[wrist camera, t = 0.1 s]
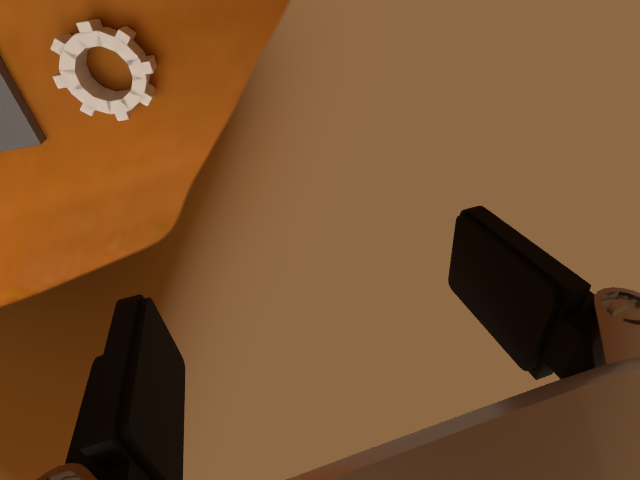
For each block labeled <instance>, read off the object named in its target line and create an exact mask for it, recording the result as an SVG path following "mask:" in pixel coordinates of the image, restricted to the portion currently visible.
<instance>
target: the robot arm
mask: <svg viewBox="0 0 640 480" xmlns="http://www.w3.org/2000/svg"><path fill="white" fill-rule="evenodd" d="M448 281H449V285H450V288H451V289H452V291H453V292H454V293H455V294H456V295H457V296H458V297H459V299H460V300H461V301H462V302H463V303H464V304H465V305H466V307H467V308H468V309H469V310H470V311H471V312H472V313H473V315H474V316H475V317H476V318H477V319H478V320H479V321H480V322H481V324H482V325H483V326H484V327H485V328H486V329H487V330H488V332H489V333H490V334H491V335H492V336H493V337H494V338H495V340H496V341H497V342H498V343H499V344H500V345H501V346H502V348H503V349H504V350H505V351H506V352H507V353H508V354H509V356H510V357H511V358H512V359H513V360H514V361H515V362H516V364H517V365H518V366H519V367H520V368H521V369H523V370H525V371H529V373H530V374H531V375H532V376H533V377H534V378H535V379H536V380H537V379H540V378H543V377H546V376H548V375H551V374H552V373H553V372H554V373H555V374H556V375H557V376H558V377H559V378H560V380H558V381H555V382H552V383H549V384H546V385H544V386H541V387H538V388H535V389H533V390H530V391H527V392H524V393H522V394H519V395H516V396H513V397H510V398H508V399H505V400H502V401H499V402H497V403H494V404H491V405H488V406H485V407H483V408H480V409H477V410H474V411H472V412H469V413H466V414H463V415H461V416H458V417H455V418H452V419H450V420H447V421H444V422H441V423H439V424H436V425H433V426H431V427H428V428H425V429H422V430H420V431H417V432H414V433H411V434H409V435H406V436H403V437H400V438H398V439H395V440H392V441H389V442H387V443H384V444H381V445H379V446H376V447H373V448H370V449H368V450H365V451H362V452H359V453H357V454H354V455H351V456H349V457H346V458H343V459H341V460H338V461H335V462H333V463H330V464H327V465H325V466H322V467H319V468H317V469H314V470H311V471H309V472H306V473H303V474H300V475H298V476H295V477H292V478H290V479H287V480H640V293H638V292H635V291H632V290H628V289H624V288H614V287H613V288H605V289H602V290H600V291H598V292H597V293H596V294H595V295H594V294H593V293H592V292H590V291H589V290H590V287H591V285H590V284H589V283H588V282H586V281H585V280H583V279H582V278H581V277H579V276H578V275H577V274H575V273H574V272H572V271H571V270H570V269H568V268H567V267H566V266H564V265H563V264H561V263H560V262H559V261H557V260H556V259H554V258H553V257H552V256H550V255H549V254H548V253H546V252H545V251H544V250H542V249H541V248H539V247H538V246H537V245H535V244H534V243H533V242H531V241H530V240H528V239H527V238H526V237H524V236H523V235H521V234H520V233H519V232H517V231H516V230H515V229H513V228H512V227H511V226H509V225H508V224H506V223H505V222H504V221H502V220H501V219H500V218H498V217H497V216H496V215H494V214H493V213H491V212H490V211H488V210H487V209H486V208H484V207H483V206H476V207H472V208H469V209H465V210H463V211H461V213H460V216H458V217H457V219H456V224H455V232H454V239H453V247H452V255H451V262H450V270H449V278H448ZM184 400H185V364H184V360H183V358H182V355H181V354H180V352H179V350H178V348H177V346H176V344H175V342H174V340H173V338H172V336H171V335H170V333H169V331H168V329H167V327H166V325H165V323H164V321H163V320H162V318H161V316H160V314H159V312H158V310H157V308H156V306H155V304H154V302H153V300H152V299H151V298H144V297H143V296H142V295H136V296H132V297H128V298H124V299H120V300H118V301H117V303H116V306H115V310H114V314H113V318H112V322H111V326H110V330H109V334H108V338H107V342H106V346H105V350H104V354H103V355H101V356H98V357H97V358H96V359H95V360H94V362H93V365H92V368H91V372H90V375H89V379H88V382H87V386H86V390H85V393H84V397H83V401H82V404H81V408H80V412H79V415H78V419H77V422H76V426H75V429H74V433H73V437H72V440H71V444H70V448H69V451H68V455H67V459H66V462H65V464H64V465H60V466H58V467H55V468H53V469H51V470H49V471H48V472H46V473H45V474H43V475H42V476H41V477H39V478H38V479H37V480H183V445H184V444H183V443H184V403H185V401H184Z"/></svg>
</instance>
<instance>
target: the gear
mask: <svg viewBox="0 0 640 480" xmlns="http://www.w3.org/2000/svg"><path fill="white" fill-rule="evenodd" d="M76 25H77V27H78V29H79V33H76V34H74V35H73V36H72V35H71V34H67V35H63V36H60V37H57V38H55V39H54V41H53V44H52V46H51V48H50V49H51V50H53V51H54V52H56V53H58V54H59V55H60V63H59V70H60V71H59V73H57V74H56V75H54V76H52V77H53V79H54V81H55V83H56V85H57V87H58V89H59V88H65V87H67V88H68V90H69V91H71V92H70V93H71V94H73V95H74V96H75V97H76V98H77V99H78V100H80V101H81V102H82V103H83V104H82V106H81V108H80V111H82V112H84V113H86V114H88V115H90V116H92V115H93V114H94V113H95V112H96V110H97V111H101V112H104V113H107V114H110V113H111V114H115V116H116V118H117V120H118V121H122V120H128V119H129V118H130V116H131V114H132V112H133V110H134V108H135V106H136V105H137V104H138V103H139V102H140V103H142V104H144V105H146V106H148V104H149V103H150V101H151V99H152V97H153V94H154V92H155V89H156V88H155V87H154V86H152V85H151V84H149V81H150V75H151V74H152V73H154V71H155V69H156V67H157V63H156V60H155V57H154V55H149V56H146V54H145V52H144V50H143V49H142V48H141V47H140V46H139V45H138V44H137V43H136V42H135V41H134V38H135V36H136V34H137V33H136V32H135V31H133V30H132V29H130V28H129V27H127V26H124V27H122V28H120V29H118V31H117V30H115V29H112V28H109V27H103V26H102V23H101V20H100V18H99V19H92V20H86V21H82V22H78V23H76ZM96 46H102V47H104V48H107V49H110V50H112V51H115V52H116V53H117V54H118V55H120V56H121V57H122V58H123V59H124V60H125V61H126V62H127V63H128V66H129V68H130V71H131V74H132V76H133V81H132V87H131V88H130V89H128V90H122V91H114V90H111V89H108V88H105V87H103V86H101V85H100V84H99V83H98V82H97V81H96V80H95V79H94V78H93V77H92V76H91V73H90V71H89V69H88V67H87V64H86V62H87V54H88V50H89V49H90V48H91V47H96Z"/></svg>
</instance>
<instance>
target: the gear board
mask: <svg viewBox="0 0 640 480" xmlns="http://www.w3.org/2000/svg"><path fill="white" fill-rule="evenodd" d="M45 140H46V138H45V136H44V134H43V132H42V130H41V129H40V127H39V125H38V123H37V121H36V120H35V118H34V116H33V114H32V113H31V111H30V109H29V107H28V105H27V104H26V102H25V100H24V98H23V97H22V95H21V93H20V91H19V89H18V88H17V86H16V84H15V82H14V80H13V79H12V77H11V75H10V73H9V72H8V70H7V68H6V66H5V64H4V63H3V61H2V59H1V57H0V152H2V151H8V150H13V149H19V148H24V147H29V146H35V145H40V144H42V143H43V142H44V141H45Z"/></svg>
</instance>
